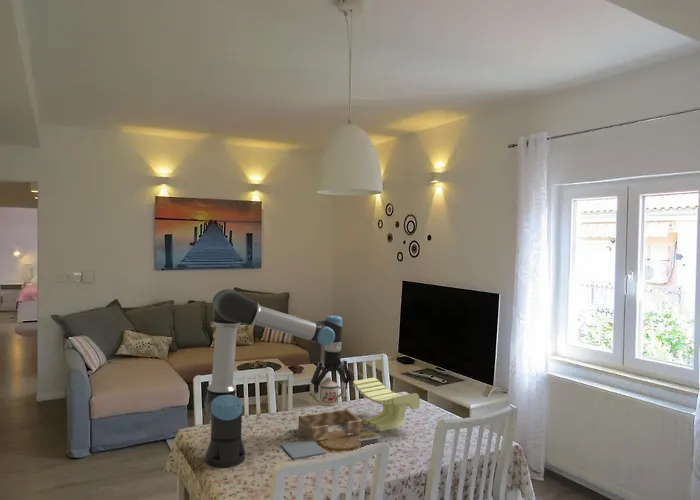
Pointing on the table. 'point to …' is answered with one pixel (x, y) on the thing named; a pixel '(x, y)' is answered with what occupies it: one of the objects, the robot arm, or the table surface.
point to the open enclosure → (328, 423)
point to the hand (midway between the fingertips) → (330, 398)
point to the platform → (368, 438)
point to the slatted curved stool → (386, 403)
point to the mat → (303, 449)
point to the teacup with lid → (329, 393)
